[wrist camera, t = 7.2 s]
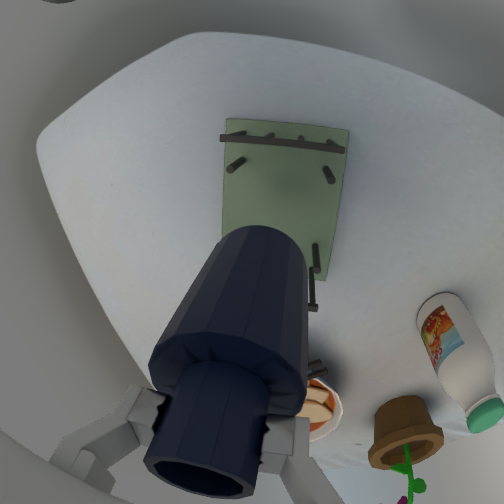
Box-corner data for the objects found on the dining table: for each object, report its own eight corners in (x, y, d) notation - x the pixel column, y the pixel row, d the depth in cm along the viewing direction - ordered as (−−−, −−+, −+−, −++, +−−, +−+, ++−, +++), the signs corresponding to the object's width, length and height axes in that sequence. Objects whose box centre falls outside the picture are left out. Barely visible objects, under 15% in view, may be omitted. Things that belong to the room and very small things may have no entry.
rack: (228, 118, 31) (202, 119, 23) (347, 130, 30) (365, 135, 21) (223, 263, 39) (201, 306, 30) (324, 276, 37) (329, 323, 29)
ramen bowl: (249, 427, 55) (243, 459, 47) (174, 358, 48) (157, 393, 41) (366, 393, 46) (371, 430, 39) (306, 302, 40) (306, 344, 32)
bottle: (212, 219, 19) (77, 401, 6) (313, 231, 18) (322, 458, 5) (211, 302, 21) (131, 482, 9) (299, 314, 21) (282, 516, 8)
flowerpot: (351, 425, 51) (351, 561, 24) (392, 382, 44) (415, 545, 17) (404, 432, 51) (417, 551, 24) (446, 393, 44) (479, 526, 17)
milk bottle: (451, 281, 35) (517, 387, 17) (465, 315, 37) (518, 415, 19) (407, 310, 38) (450, 428, 20) (425, 341, 40) (462, 449, 22)
